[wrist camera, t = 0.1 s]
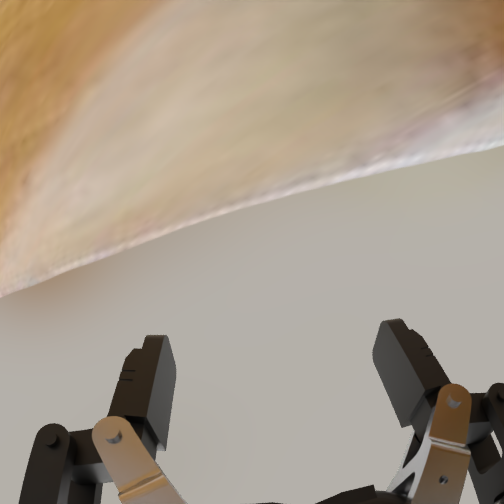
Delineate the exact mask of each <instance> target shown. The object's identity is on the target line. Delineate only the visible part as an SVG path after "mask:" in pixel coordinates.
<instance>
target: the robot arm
mask: <svg viewBox="0 0 504 504" xmlns="http://www.w3.org/2000/svg"><path fill="white" fill-rule="evenodd" d="M373 362H374V365H375V367H376V369H377V371H378V373H379V376H380V378H381V380H382V382H383V385H384V387H385V389H386V392H387V394H388V396H389V398H390V401H391V403H392V406H393V408H394V410H395V413H396V415H397V417H398V420H399V422H400V425H401V427H402V428H403V427H406V426H409V425H412V426H413V429H414V430H413V432H412V433H411V437H410V439H409V442H408V445H407V448H406V451H405V453H404V456H403V459H402V461H401V464H400V466H399V469H398V471H397V473H396V475H395V477H394V478H393V480H392V481H391V483H390V485H389V486H388V488H387V490H386V491H375V488H374V485H370V486H366V487H362V488H358V489H354V490H349V491H345V492H341V493H339V494H337V495H335V496H333V497H330V498H328V499H326V500H323V501H321V502H318V503H316V504H459V501H460V497H461V494H462V490H463V487H464V483H465V478H466V475H467V470H468V471H469V473H470V476H471V479H472V482H473V485H474V488H475V491H476V494H477V497H478V500H479V504H504V383H495V384H493V385H492V386H491V387H490V389H489V390H488V392H487V393H469V392H468V391H467V389H465V388H464V387H462V386H461V385H458V384H452V383H451V382H450V381H449V379H448V377H447V375H446V374H445V372H444V370H443V369H442V367H441V365H440V364H439V362H438V361H437V359H436V357H435V356H433V353H432V351H431V349H430V348H428V345H427V343H426V342H425V340H424V339H423V337H422V336H420V335H419V334H418V333H417V332H415V331H414V330H413V329H412V330H409V329H408V327H407V326H406V324H405V323H404V321H403V320H402V319H400V318H399V319H393V320H386V321H382V323H381V324H380V328H379V331H378V335H377V338H376V341H375V344H374V348H373ZM175 381H176V365H175V361H174V357H173V353H172V350H171V346H170V343H169V339H168V337H167V335H147V336H146V337H145V340H144V343H143V347H142V349H133V350H132V351H131V353H130V354H129V355H128V356H127V357H126V359H125V362H124V364H123V367H122V372H121V374H120V377H119V381H118V383H117V386H116V389H115V393H114V396H113V399H112V403H111V406H110V409H109V413H108V415H107V417H106V418H103V419H101V420H100V421H99V422H98V423H97V424H96V425H95V426H94V428H92V429H88V430H81V431H73V432H68V431H67V430H66V429H65V427H63V426H62V425H59V424H55V423H54V424H48V425H45V426H44V427H42V428H41V429H40V430H39V431H38V433H37V435H36V438H35V441H34V444H33V447H32V451H31V455H30V458H29V462H28V465H27V469H26V473H25V477H24V481H23V486H22V490H21V495H20V500H19V504H100V503H101V494H102V486H103V483H107V482H114V483H115V485H116V487H117V489H118V490H119V494H118V496H119V498H120V501H121V503H122V504H187V502H186V501H185V500H184V499H183V498H182V496H181V495H180V494H179V493H178V491H177V490H176V489H175V488H174V486H173V485H172V484H171V482H170V481H169V480H168V478H167V477H166V475H165V474H164V473H163V472H162V470H161V469H160V467H159V466H158V464H157V463H156V462H155V458H156V451H157V450H159V451H166V446H167V438H168V430H169V422H170V415H171V408H172V401H173V394H174V388H175ZM493 430H494V432H495V435H496V437H497V439H498V441H499V443H500V446H501V448H502V452H503V454H502V458H501V457H500V454H499V452H498V450H497V447H496V445H495V443H494V440H493V438H492V436H491V433H492V432H493ZM258 504H281V503H273V502H272V503H258Z"/></svg>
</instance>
